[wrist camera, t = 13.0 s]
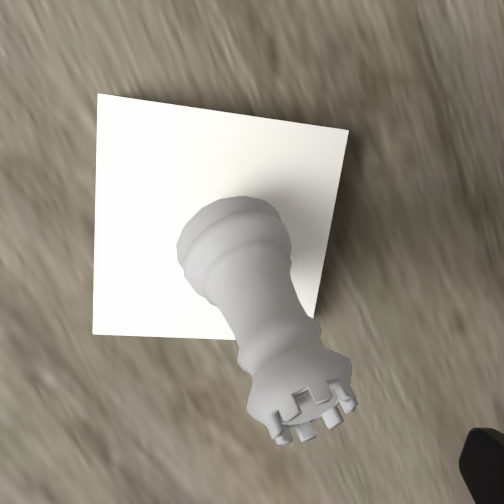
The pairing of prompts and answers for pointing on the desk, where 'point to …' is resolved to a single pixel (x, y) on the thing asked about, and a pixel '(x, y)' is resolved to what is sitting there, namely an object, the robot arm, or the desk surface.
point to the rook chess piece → (265, 316)
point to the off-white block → (198, 205)
